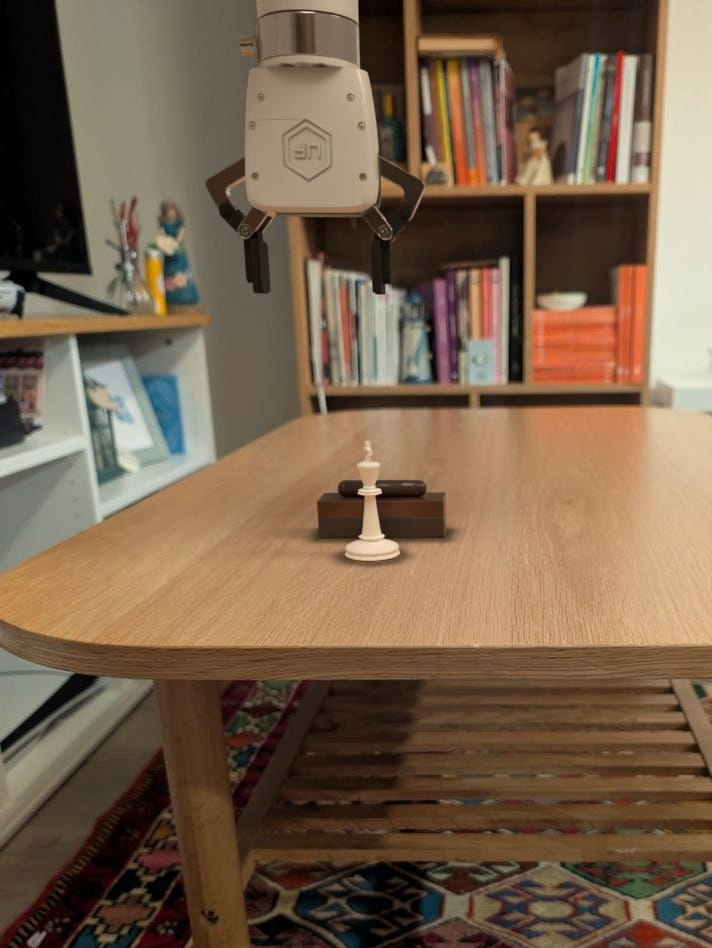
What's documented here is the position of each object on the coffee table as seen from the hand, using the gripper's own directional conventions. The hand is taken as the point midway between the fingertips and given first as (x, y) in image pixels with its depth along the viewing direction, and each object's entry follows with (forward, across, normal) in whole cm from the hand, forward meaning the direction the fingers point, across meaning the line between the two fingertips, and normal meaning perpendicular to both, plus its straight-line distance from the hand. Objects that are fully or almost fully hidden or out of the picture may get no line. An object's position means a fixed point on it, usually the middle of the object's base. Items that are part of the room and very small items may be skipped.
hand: (320, 293), depth 77 cm
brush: (+22, +4, +8) cm, 24 cm away
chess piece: (+22, +4, 0) cm, 22 cm away
